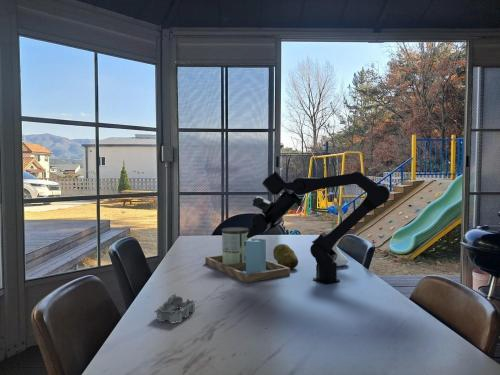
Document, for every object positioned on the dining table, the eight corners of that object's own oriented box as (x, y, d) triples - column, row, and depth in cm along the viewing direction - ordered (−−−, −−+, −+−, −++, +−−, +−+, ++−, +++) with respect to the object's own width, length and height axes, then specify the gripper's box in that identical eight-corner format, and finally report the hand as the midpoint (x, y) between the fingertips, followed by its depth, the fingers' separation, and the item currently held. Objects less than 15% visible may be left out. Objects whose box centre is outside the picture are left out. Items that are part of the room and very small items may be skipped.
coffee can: (224, 261, 158) (224, 226, 157) (249, 262, 157) (249, 227, 156) (219, 267, 147) (219, 230, 147) (247, 268, 146) (247, 231, 146)
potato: (276, 271, 143) (277, 249, 142) (271, 262, 156) (271, 242, 155) (299, 270, 144) (299, 248, 143) (292, 262, 156) (292, 242, 156)
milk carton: (265, 272, 141) (265, 237, 140) (260, 276, 136) (260, 239, 135) (251, 271, 143) (251, 236, 142) (245, 274, 138) (245, 238, 137)
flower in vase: (346, 269, 144) (347, 202, 143) (316, 267, 148) (316, 201, 147) (349, 261, 157) (350, 199, 156) (321, 259, 161) (321, 199, 159)
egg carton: (175, 307, 106) (175, 292, 106) (199, 311, 103) (199, 296, 103) (151, 321, 96) (150, 305, 96) (177, 326, 93) (177, 309, 93)
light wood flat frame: (290, 275, 137) (290, 268, 137) (246, 282, 128) (246, 275, 128) (244, 258, 163) (244, 252, 163) (205, 263, 154) (205, 257, 154)
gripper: (274, 187, 145) (247, 215, 150) (257, 189, 128) (226, 221, 132) (295, 209, 143) (266, 237, 147) (280, 215, 125) (248, 246, 130)
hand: (252, 235), depth 139 cm, fingers open, 9 cm apart
